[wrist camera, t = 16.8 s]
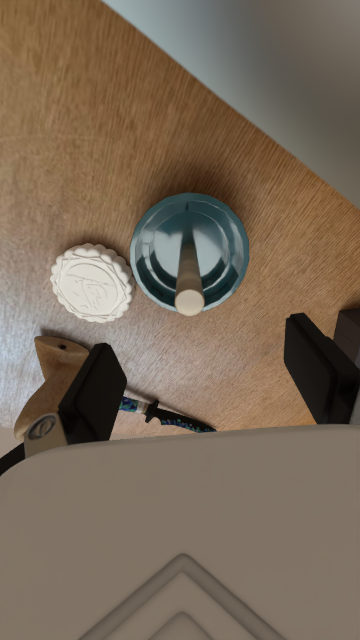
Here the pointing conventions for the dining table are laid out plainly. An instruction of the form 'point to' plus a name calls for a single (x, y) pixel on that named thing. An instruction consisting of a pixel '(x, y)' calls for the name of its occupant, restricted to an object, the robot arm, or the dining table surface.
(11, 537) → the robot arm
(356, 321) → the holder
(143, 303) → the dining table surface
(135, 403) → the knife
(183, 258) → the stick
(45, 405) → the brown hollow clay piece
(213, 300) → the bowl
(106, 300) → the mooncake
